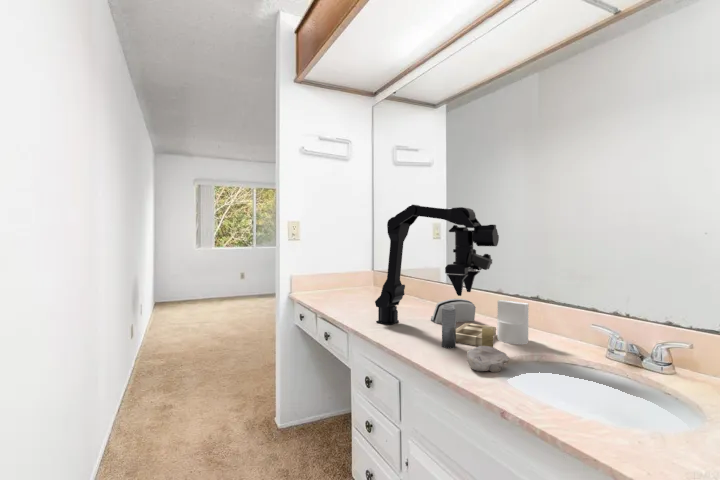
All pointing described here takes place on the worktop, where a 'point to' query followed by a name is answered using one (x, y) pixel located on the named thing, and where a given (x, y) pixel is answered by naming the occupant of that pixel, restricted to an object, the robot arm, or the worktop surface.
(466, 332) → the block
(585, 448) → the worktop surface
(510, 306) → the cylinder with rectangular tab
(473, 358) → the fossil
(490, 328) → the square bit
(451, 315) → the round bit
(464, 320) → the grey curved block
